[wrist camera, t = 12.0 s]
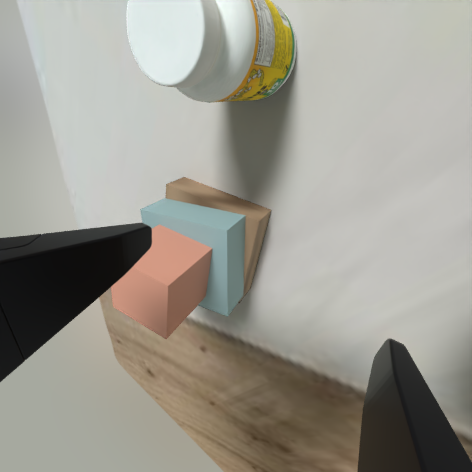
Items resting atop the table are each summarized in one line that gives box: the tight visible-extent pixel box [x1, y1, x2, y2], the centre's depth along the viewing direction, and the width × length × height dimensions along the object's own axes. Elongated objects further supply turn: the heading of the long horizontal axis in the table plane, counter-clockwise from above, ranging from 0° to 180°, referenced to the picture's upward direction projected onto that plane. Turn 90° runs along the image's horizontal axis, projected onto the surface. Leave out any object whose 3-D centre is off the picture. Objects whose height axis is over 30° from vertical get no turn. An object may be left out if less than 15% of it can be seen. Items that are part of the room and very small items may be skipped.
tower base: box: [166, 177, 271, 303], centre depth 26 cm, size 9×9×3 cm
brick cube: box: [111, 224, 212, 339], centre depth 20 cm, size 5×5×5 cm
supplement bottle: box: [126, 0, 296, 103], centre depth 14 cm, size 5×5×10 cm
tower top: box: [140, 198, 246, 317], centre depth 23 cm, size 8×8×3 cm
